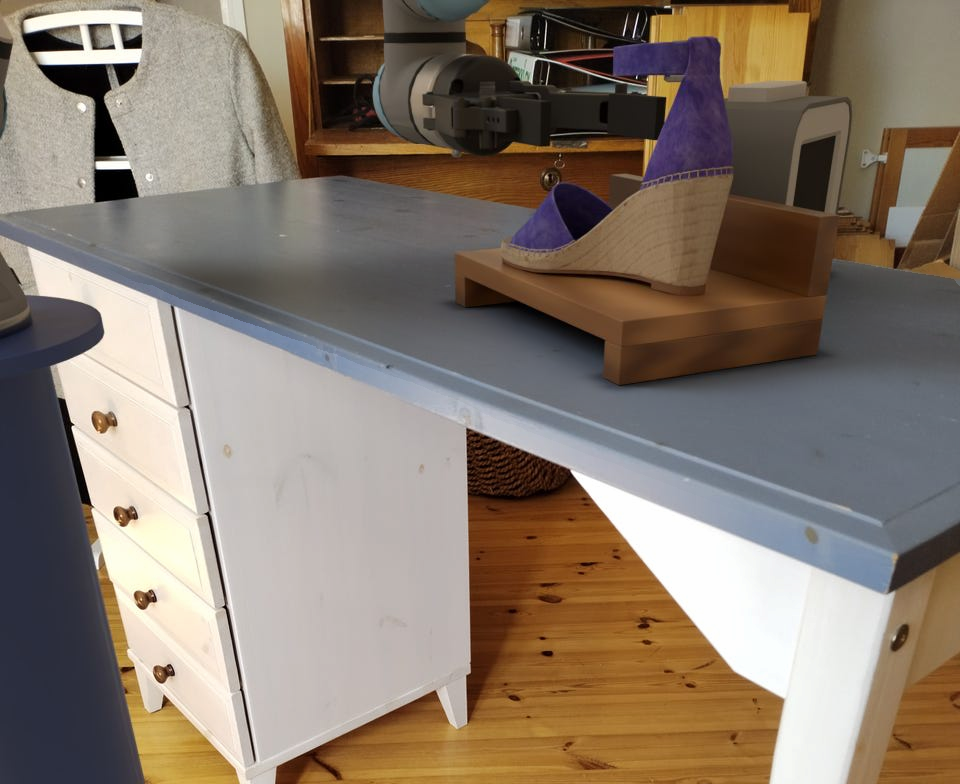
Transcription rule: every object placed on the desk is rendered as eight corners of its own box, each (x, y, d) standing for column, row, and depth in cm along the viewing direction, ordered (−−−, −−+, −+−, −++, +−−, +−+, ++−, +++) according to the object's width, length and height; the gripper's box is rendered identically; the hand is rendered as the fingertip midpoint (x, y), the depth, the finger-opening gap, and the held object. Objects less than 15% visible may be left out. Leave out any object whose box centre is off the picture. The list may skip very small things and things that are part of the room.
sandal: (566, 248, 83) (573, 36, 76) (738, 292, 69) (769, 35, 61) (482, 259, 80) (481, 37, 72) (646, 307, 65) (666, 37, 58)
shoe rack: (618, 385, 64) (628, 234, 60) (455, 302, 85) (452, 185, 80) (817, 354, 70) (840, 215, 65) (619, 284, 90) (626, 173, 86)
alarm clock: (771, 306, 82) (800, 88, 74) (642, 291, 87) (657, 86, 79) (828, 271, 94) (858, 80, 86) (712, 260, 99) (731, 78, 91)
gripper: (575, 147, 93) (724, 172, 75) (355, 159, 86) (464, 190, 68) (578, 52, 89) (737, 55, 72) (348, 56, 82) (462, 61, 64)
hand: (604, 121), depth 70 cm, fingers open, 8 cm apart
